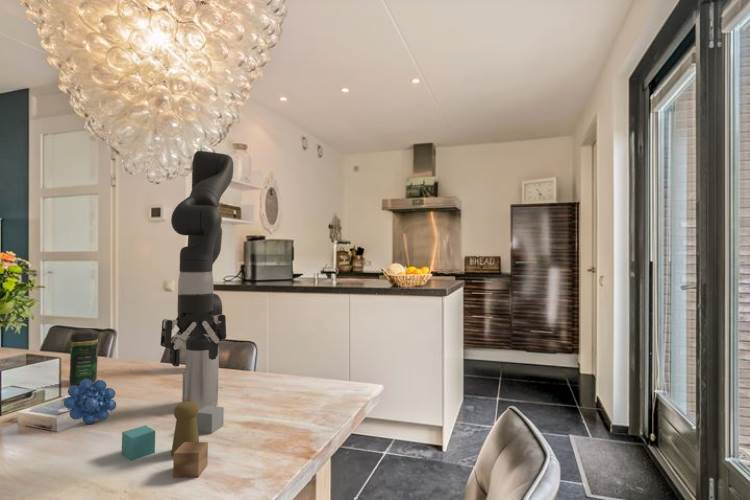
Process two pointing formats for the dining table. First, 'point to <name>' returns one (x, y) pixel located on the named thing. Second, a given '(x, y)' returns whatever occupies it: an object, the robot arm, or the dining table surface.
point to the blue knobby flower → (90, 401)
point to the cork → (185, 424)
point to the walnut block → (190, 460)
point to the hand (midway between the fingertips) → (194, 362)
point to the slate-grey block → (210, 419)
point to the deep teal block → (138, 442)
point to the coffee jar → (83, 356)
